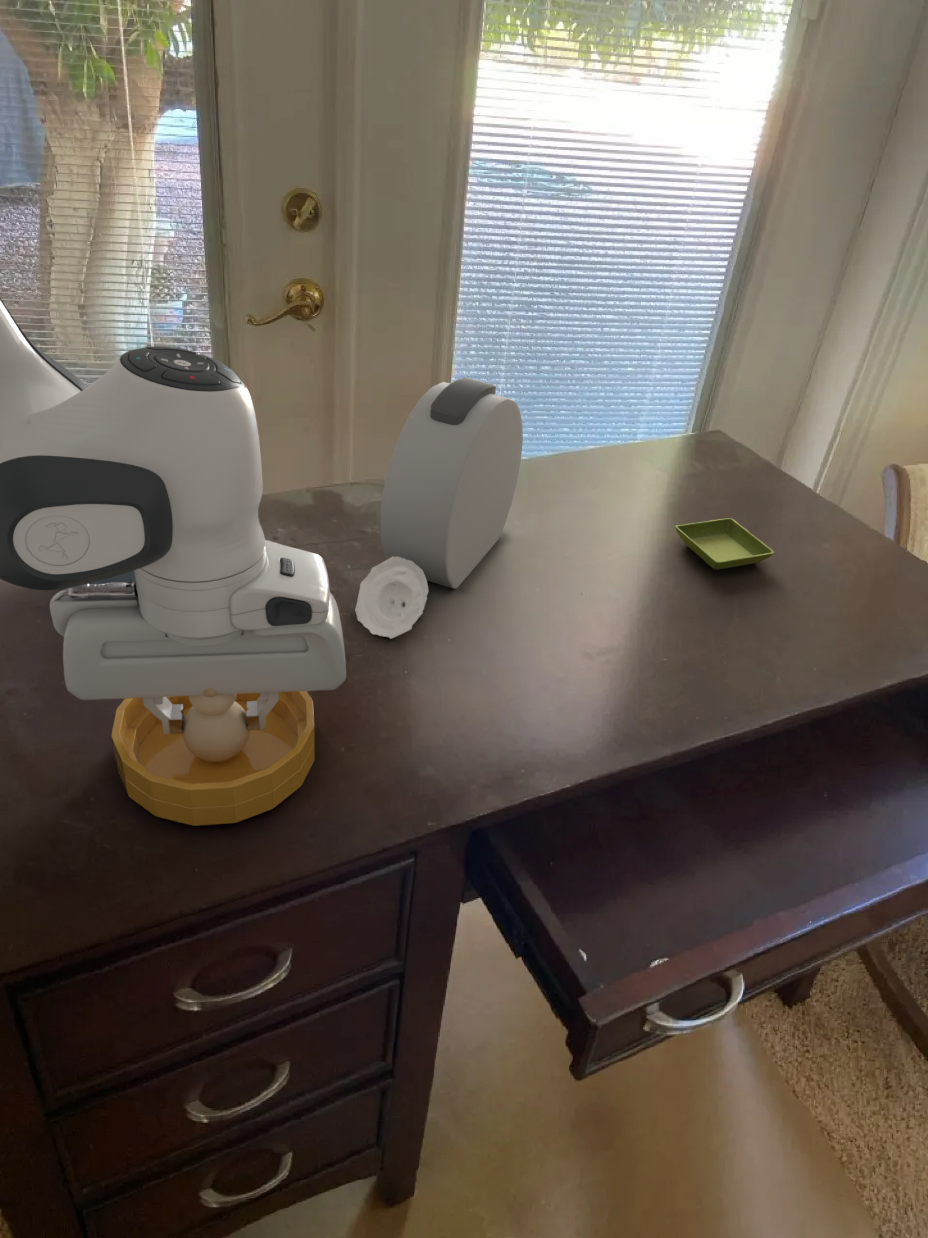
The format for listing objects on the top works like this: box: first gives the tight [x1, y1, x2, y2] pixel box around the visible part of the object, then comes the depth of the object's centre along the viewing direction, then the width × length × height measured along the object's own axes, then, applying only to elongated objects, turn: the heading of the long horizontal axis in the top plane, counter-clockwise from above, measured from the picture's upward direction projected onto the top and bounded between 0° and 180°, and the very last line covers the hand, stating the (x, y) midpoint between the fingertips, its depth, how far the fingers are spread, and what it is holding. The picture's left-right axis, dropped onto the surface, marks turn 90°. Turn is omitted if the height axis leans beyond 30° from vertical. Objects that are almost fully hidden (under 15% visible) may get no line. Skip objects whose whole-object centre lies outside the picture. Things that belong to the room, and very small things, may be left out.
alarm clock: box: [379, 377, 524, 590], centre depth 96 cm, size 21×8×20 cm, turn 156°
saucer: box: [674, 517, 775, 571], centre depth 106 cm, size 9×9×2 cm
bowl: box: [110, 691, 316, 827], centre depth 71 cm, size 15×15×4 cm
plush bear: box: [182, 688, 250, 762], centre depth 70 cm, size 5×5×9 cm
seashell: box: [354, 557, 429, 640], centre depth 89 cm, size 8×5×8 cm
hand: (216, 727), depth 70 cm, fingers closed on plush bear, 5 cm apart
